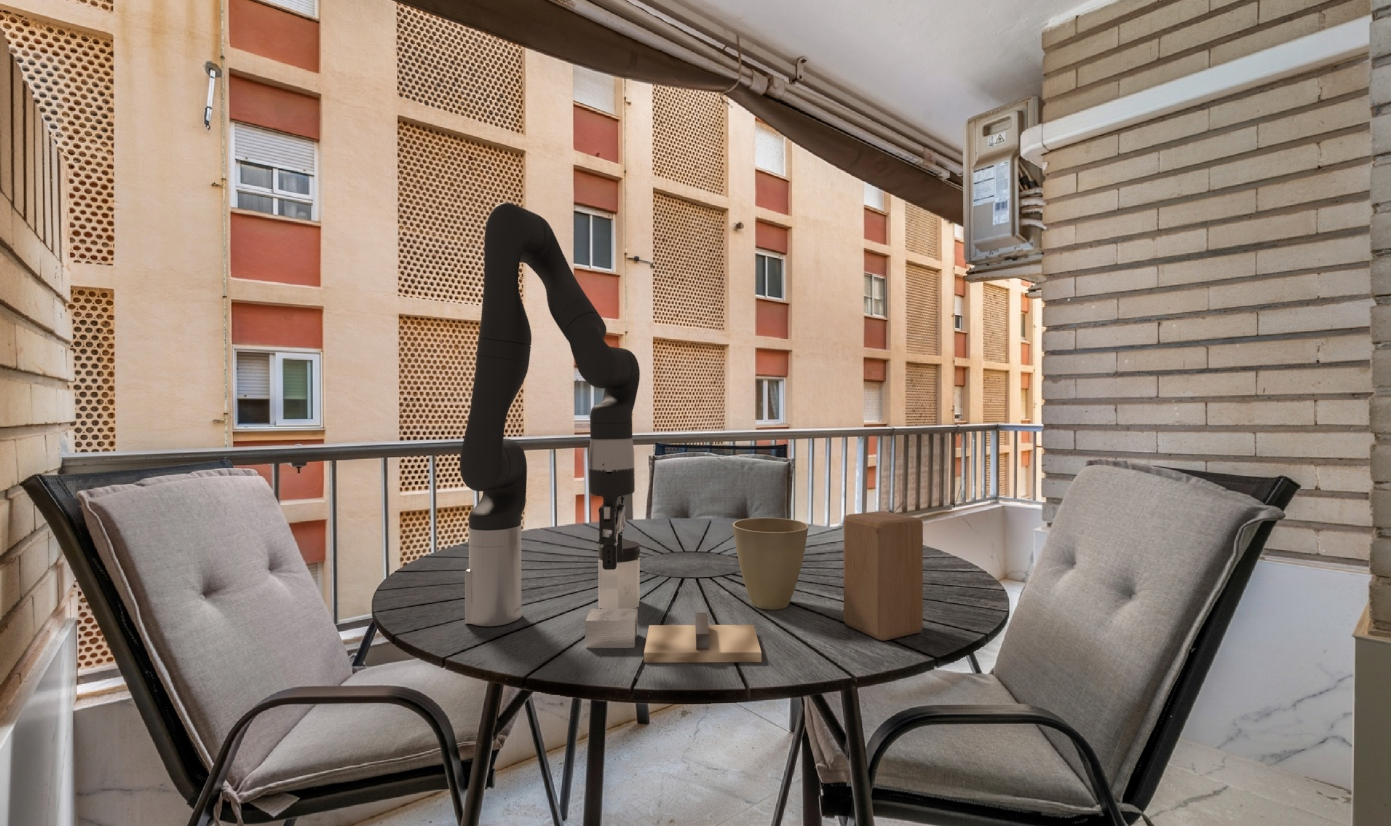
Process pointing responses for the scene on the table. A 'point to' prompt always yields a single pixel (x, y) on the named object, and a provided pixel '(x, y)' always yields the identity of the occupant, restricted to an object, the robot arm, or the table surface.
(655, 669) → the table surface
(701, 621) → the stand
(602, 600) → the jar
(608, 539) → the robot arm
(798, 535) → the plant pot
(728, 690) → the table surface
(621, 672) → the table surface
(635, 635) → the notched grey block
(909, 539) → the wooden block
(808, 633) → the table surface
